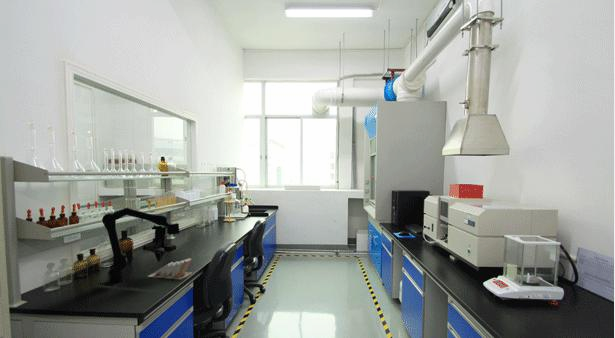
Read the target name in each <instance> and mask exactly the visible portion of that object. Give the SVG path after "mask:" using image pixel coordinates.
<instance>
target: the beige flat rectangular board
mask: <svg viewBox="0 0 615 338" xmlns="http://www.w3.org/2000/svg"><path fill="white" fill-rule="evenodd" d="M160 273H161V272H160ZM160 273H158V274H156V275H155V273H154V272H153V273H151V274H149V275H147V277H148V278H149V277H150V278H158V279H159V278H161V279H170V280H171V279H173V280H182V279H184V278H186V277H187V276H189V275H191V274H193V271H191V272H190V271H186V272H185V274H184V275H182V276H180V277H179V276H177V275H178V274H177V275H175V276H172V274H170V275H168V276H167V275H166V273H165V274H163V275H161V274H160Z"/></svg>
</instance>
